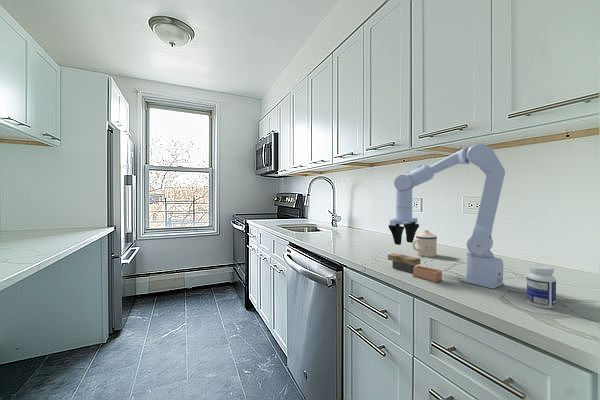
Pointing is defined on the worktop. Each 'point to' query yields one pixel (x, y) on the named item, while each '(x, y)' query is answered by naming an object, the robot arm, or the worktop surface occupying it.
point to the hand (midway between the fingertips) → (403, 243)
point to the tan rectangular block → (427, 274)
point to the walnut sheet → (404, 259)
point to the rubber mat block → (403, 266)
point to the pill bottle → (541, 287)
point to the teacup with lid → (425, 244)
